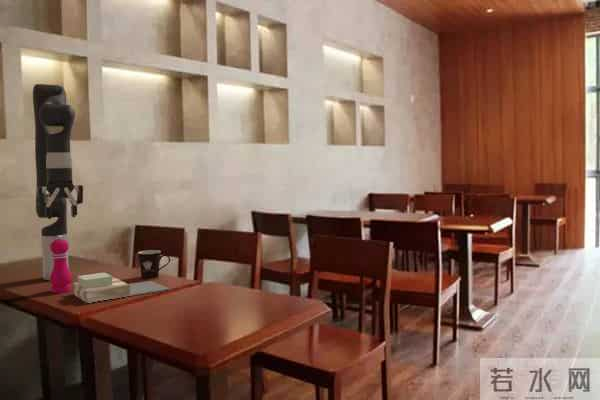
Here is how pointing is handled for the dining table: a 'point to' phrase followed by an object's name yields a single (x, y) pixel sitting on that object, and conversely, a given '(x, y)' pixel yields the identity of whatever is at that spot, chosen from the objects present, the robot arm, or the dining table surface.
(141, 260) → the coffee mug
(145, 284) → the slate mat
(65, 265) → the pepper mill
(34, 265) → the dining table surface
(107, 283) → the green tile
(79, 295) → the block
